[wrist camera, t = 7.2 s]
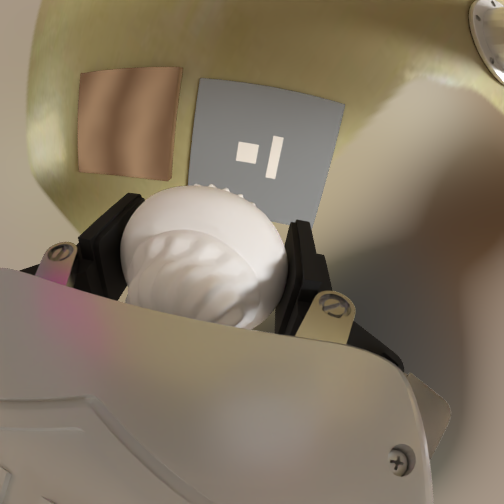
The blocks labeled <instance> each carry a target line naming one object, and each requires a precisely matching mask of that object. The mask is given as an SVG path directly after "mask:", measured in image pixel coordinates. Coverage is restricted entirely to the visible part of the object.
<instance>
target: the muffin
mask: <svg viewBox="0 0 504 504" xmlns="http://www.w3.org/2000/svg"><path fill="white" fill-rule="evenodd" d="M120 258H121V265H122V270H123V274H124V277H125V280H126V283H127V286H128V295H127V298H126V302H125V303H127V304H131V305H135V306H139V307H143V308H147V309H151V310H155V311H159V312H164V313H168V314H173V315H177V316H182V317H186V318H191V319H196V320H201V321H206V322H211V323H217V324H222V325H227V326H233V327H238V328H244V329H252V328H254V327H256V326H257V325H259V324H260V323H261V322H263V321H264V320H265V319H266V318H267V317H268V316H269V315H270V314H271V313H272V311H273V310H274V309H275V307H276V306H277V305H278V303H279V301H280V299H281V298H282V295H283V292H284V289H285V285H286V281H287V276H288V259H287V254H286V250H285V247H284V244H283V242H282V239H281V237H280V235H279V233H278V232H277V230H276V228H275V226H274V225H273V224H272V222H271V221H270V220H269V219H268V217H267V216H266V214H264V213H263V212H262V211H261V210H260V209H258V208H257V207H256V205H255V203H252V202H249V201H247V200H245V199H244V198H243V195H242V194H238V195H236V194H233V193H230V191H229V189H228V188H224V189H218V188H216V187H215V186H214V185H212V184H210V185H209V186H208V187H207V186H201V185H199V184H195V185H194V186H178V187H173V188H168V189H165V190H162V191H160V192H158V193H156V194H154V195H152V196H151V197H149V198H148V199H147V200H145V201H144V202H143V203H142V204H141V205H140V206H139V207H138V208H137V209H136V211H135V212H134V213H133V215H132V216H131V218H130V220H129V221H128V223H127V225H126V227H125V230H124V232H123V235H122V239H121V245H120Z"/></svg>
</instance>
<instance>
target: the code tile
mask: <svg viewBox="0 0 504 504" xmlns="http://www.w3.org/2000/svg"><path fill="white" fill-rule="evenodd" d="M344 108H345V104H342V103H338V102H335V101H331V100H328V99H324V98H320V97H316V96H312V95H308V94H304V93H299V92H295V91H290V90H285V89H280V88H275V87H269V86H264V85H257V84H251V83H244V82H236V81H227V80H218V79H206V78H200V83H199V89H198V96H197V103H196V111H195V119H194V127H193V136H192V145H191V155H190V166H189V177H188V186H194V185H195V184H199V185H201V186H207V187H208V186H209V185H210V184H212V185H214V186H215V187H216V188H218V189H224V188H228V189H229V191H230V193H233V194H236V195H238V194H242V195H243V198H244V199H245V200H247V201H249V202H252V203H255V205H256V207H257V208H258V209H260V210H261V211H262V212H263V213H264V214H266V216H267V217H268V219H269V220H270V221H271V222H277V223H282V224H288V225H290V223H291V222H295V221H296V219H298V220H303V221H308V222H310V226H311V229H312V226H313V223H314V220H315V217H316V213H317V210H318V207H319V203H320V200H321V196H322V193H323V189H324V186H325V182H326V178H327V175H328V171H329V168H330V164H331V160H332V156H333V152H334V149H335V145H336V141H337V137H338V133H339V129H340V125H341V121H342V116H343V112H344Z"/></svg>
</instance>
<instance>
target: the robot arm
mask: <svg viewBox="0 0 504 504" xmlns="http://www.w3.org/2000/svg"><path fill="white" fill-rule="evenodd" d="M469 23H470V29H471V33H472V36H473V39H474V42H475V45H476V47H477V50H478V52H479V54H480V56H481V58H482V59H483V61H484V63H485V64H486V66H487V67H488V69H489V70H490V72H491V73H492V74H493V75H494V77H495V78H496V79H498V80H499V81H500V82H501V83H502V84H504V6H503V5H502V4H501V3H499V2H497V1H496V0H475V1H474V2H473V3H472V5H471V7H470V10H469ZM144 201H145V200H144V198H142V197H141V195H140V194H134V193H127V194H126V195H125V196H124V197H123V198H121V199H120V200H119V201H118V202H117V203H115V204H114V205H113V206H112V207H111V208H110V209H109V210H107V211H106V212H105V213H104V214H103V215H102V216H101V217H100V218H98V219H97V220H96V221H95V222H94V223H93V224H92V225H91V226H90V227H89V228H88V229H86V230H85V231H84V232H83V233H82V234H81V235H80V236H79V237H78V239H79V243H78V244H77V245H75V244H74V243H71V242H61V243H58V244H55V245H53V246H52V247H50V248H49V249H48V250H47V251H46V252H45V254H44V256H43V258H42V260H41V263H40V264H38V265H35V266H32V267H29V268H26V269H23V270H20V271H17V270H13V269H8V268H0V504H433V488H432V477H431V468H430V459H431V458H432V456H433V454H434V452H435V450H436V448H437V446H438V444H439V442H440V440H441V438H442V436H443V434H444V432H445V430H446V428H447V425H448V423H449V421H450V417H451V409H450V407H449V404H448V403H447V402H446V401H445V400H444V399H443V398H442V397H441V396H439V395H438V394H437V393H435V392H434V391H433V390H432V389H430V388H429V387H428V386H427V385H426V384H424V383H423V382H422V381H421V380H419V379H418V378H417V377H415V376H414V375H413V374H412V373H409V374H408V375H407V374H406V373H404V366H403V363H402V361H401V359H400V358H399V357H398V356H397V355H396V354H395V353H394V352H393V351H392V350H390V349H389V348H388V347H386V346H385V345H384V344H383V343H381V342H380V341H379V340H378V339H376V338H375V337H374V336H372V335H371V334H370V333H368V332H367V331H366V330H364V329H363V328H362V327H361V326H359V325H358V324H357V323H356V322H354V321H353V319H354V316H355V307H354V304H353V303H352V302H351V300H349V299H348V298H347V297H346V296H344V295H343V294H340V293H338V292H335V291H332V287H331V282H330V278H329V274H328V269H327V264H326V260H325V257H324V255H321V254H316V249H315V245H314V240H313V235H312V230H311V226H310V222H308V221H303V220H298V219H296V221H295V222H291V223H290V226H289V230H288V234H287V238H286V242H285V246H284V247H285V250H286V254H287V259H288V276H287V281H286V285H285V289H284V292H283V295H282V298H281V299H280V301H279V303H278V305H277V306H276V308H275V309H276V310H275V311H276V312H275V333H269V332H262V331H256V330H250V329H244V328H238V327H233V326H227V325H222V324H217V323H211V322H206V321H201V320H196V319H191V318H186V317H182V316H177V315H173V314H168V313H164V312H159V311H155V310H151V309H147V308H143V307H139V306H135V305H131V304H127V303H123V302H119V301H118V299H119V297H120V296H121V294H122V293H123V291H124V290H125V288H126V286H127V283H126V280H125V277H124V274H123V270H122V265H121V258H120V245H121V239H122V235H123V232H124V230H125V227H126V225H127V223H128V221H129V220H130V218H131V216H132V215H133V213H134V212H135V211H136V209H137V208H138V207H139V206H140V205H141V204H142V203H143V202H144Z"/></svg>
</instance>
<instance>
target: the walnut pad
mask: <svg viewBox="0 0 504 504" xmlns="http://www.w3.org/2000/svg"><path fill="white" fill-rule="evenodd" d="M182 71H183V68H181V67H141V68H124V69H112V70H102V71H94V72H87V73H81V76H80V87H79V102H78V163H79V172H87V173H99V174H109V175H119V176H128V177H137V178H146V179H154V180H162V181H169V180H170V179H171V178H172V163H173V150H174V138H175V127H176V117H177V109H178V100H179V92H180V85H181V78H182Z"/></svg>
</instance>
